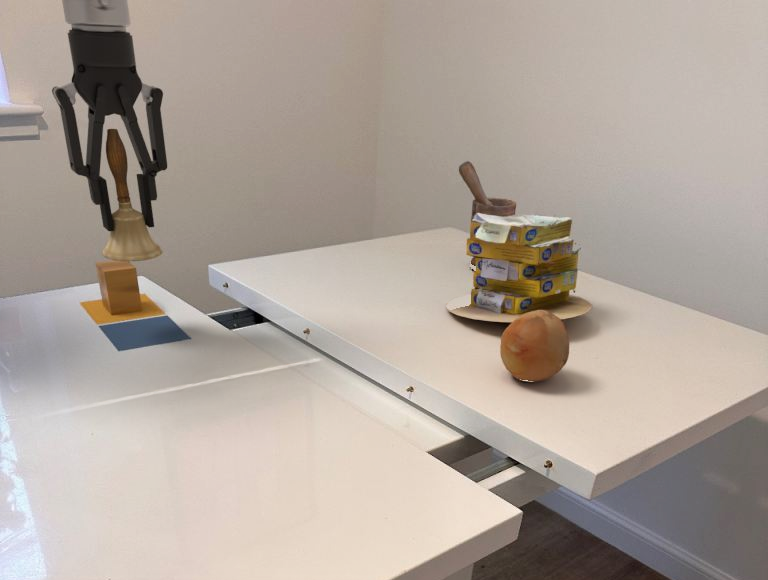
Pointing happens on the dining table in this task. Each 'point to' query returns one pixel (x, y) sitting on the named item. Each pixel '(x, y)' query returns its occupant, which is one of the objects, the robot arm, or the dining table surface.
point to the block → (119, 287)
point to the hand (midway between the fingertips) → (128, 226)
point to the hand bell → (126, 212)
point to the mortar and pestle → (484, 197)
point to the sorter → (135, 325)
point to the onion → (535, 346)
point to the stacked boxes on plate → (522, 268)
